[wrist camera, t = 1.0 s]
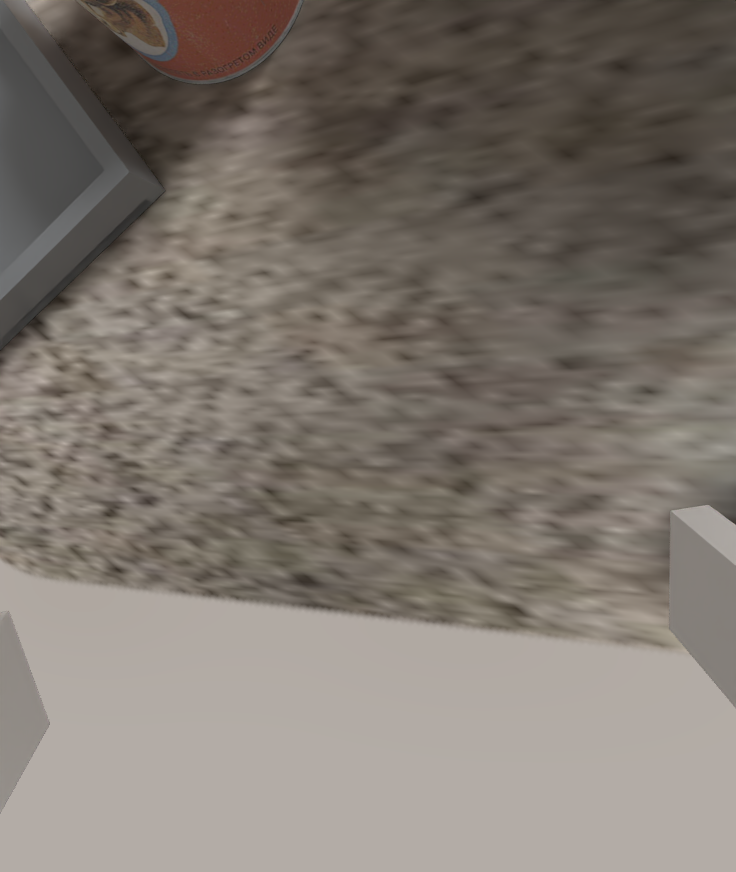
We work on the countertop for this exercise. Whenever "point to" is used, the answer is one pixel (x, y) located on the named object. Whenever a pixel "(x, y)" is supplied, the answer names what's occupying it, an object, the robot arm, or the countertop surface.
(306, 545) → the countertop surface
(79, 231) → the tray
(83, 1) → the canned food
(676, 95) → the countertop surface
